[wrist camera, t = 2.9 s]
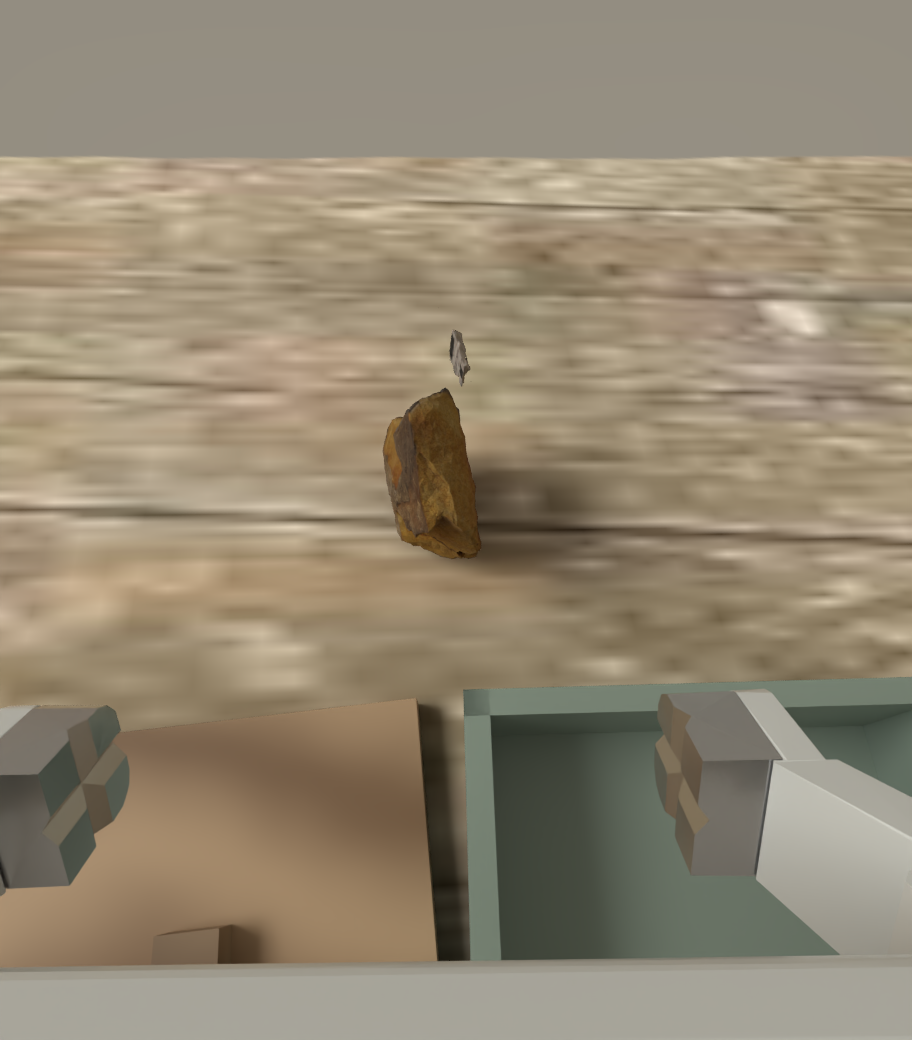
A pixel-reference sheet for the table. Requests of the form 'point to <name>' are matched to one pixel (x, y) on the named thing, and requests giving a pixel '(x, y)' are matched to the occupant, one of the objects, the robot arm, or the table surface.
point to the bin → (632, 821)
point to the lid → (250, 850)
